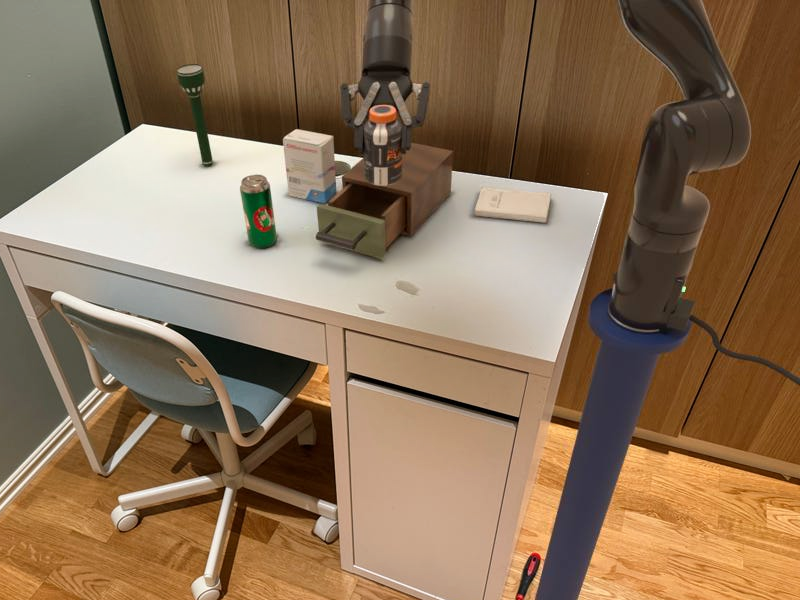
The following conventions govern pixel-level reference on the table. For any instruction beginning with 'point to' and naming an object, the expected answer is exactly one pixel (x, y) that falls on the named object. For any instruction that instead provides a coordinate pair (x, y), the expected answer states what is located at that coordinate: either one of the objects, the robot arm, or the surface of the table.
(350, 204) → the drawer
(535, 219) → the hard drive
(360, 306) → the table surface
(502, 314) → the table surface
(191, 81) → the flashlight
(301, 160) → the ink box
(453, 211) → the table surface
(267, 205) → the soda can
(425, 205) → the cabinet
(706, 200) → the robot arm
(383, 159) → the pill bottle
